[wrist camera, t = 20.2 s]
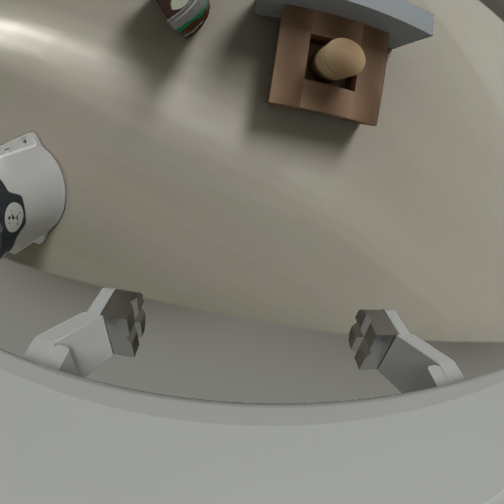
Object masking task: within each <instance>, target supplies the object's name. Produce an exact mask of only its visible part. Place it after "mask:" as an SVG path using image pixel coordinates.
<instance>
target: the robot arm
mask: <svg viewBox="0 0 504 504" xmlns="http://www.w3.org/2000/svg"><path fill="white" fill-rule="evenodd" d="M64 206H65V185H64V180H63V176H62V173H61V170H60V168H59V166H58V164H57V162H56V161H55V159H54V158H53V156H52V155H51V154H50V153H49V152H48V151H47V150H45V149H44V148H43V146H42V145H41V143H40V141H39V138H38V137H37V135H36V133H35V132H30V133H27V134H25V135H23V136H20V137H18V138H16V139H14V140H12V141H10V142H8V143H5V144H3V145H1V146H0V259H1V258H3V257H4V256H5V255H6V254H7V253H8V252H9V253H12V254H16V253H17V252H19V251H21V250H22V249H24V248H25V247H27V246H28V245H30V244H31V243H33V242H34V243H37V244H41V243H43V242H44V241H45V240H46V237H47V235H48V232H49V230H50V229H51V228H53V227H54V226H55V225H56V224H57V223H58V221H59V220H60V218H61V216H62V213H63V210H64ZM143 303H144V301H143V295H142V293H140V292H133V291H127V290H121V289H114V288H107V287H105V288H102V290H101V291H100V293H99V294H98V296H97V297H96V299H95V300H94V302H93V303H92V305H91V306H90V308H89V309H88V311H87V313H86V312H82V313H80V314H78V315H76V316H74V317H73V318H70V319H68V320H66V321H64V322H62V323H61V324H59V325H57V326H55V327H53V328H51V329H49V330H47V331H45V332H43V333H41V334H39V335H37V336H36V337H35V338H34V339H33V341H32V342H31V344H30V345H29V347H28V349H27V350H26V352H25V353H24V355H23V356H22V357H20V356H17V355H15V354H12V353H10V352H7V351H5V350H2V349H0V504H504V367H503V368H500V369H497V370H494V371H491V372H488V373H485V374H482V375H479V376H475V377H472V378H468V379H465V378H464V377H463V375H462V373H461V372H460V370H459V368H458V367H457V365H456V364H455V362H454V361H453V360H452V359H450V358H449V357H447V356H446V355H444V354H443V353H441V352H439V351H438V350H436V349H435V348H433V347H432V346H430V345H429V344H427V343H426V342H424V341H423V340H421V339H420V338H418V337H416V336H415V335H413V334H409V332H408V330H407V329H406V327H405V326H404V324H403V322H402V321H401V319H400V318H399V316H398V315H397V313H396V312H395V311H394V310H393V309H382V310H359V311H358V313H357V315H356V317H355V318H356V321H357V323H355V324H354V325H353V326H352V327H351V330H350V333H349V344H350V347H351V349H352V350H353V351H354V352H355V353H356V355H355V360H356V363H357V365H358V368H359V370H360V369H378V371H379V372H380V373H381V374H382V375H384V376H385V377H386V378H387V379H388V380H389V381H390V382H391V383H392V384H393V385H394V386H395V387H396V388H397V389H398V390H399V391H400V392H401V394H395V395H388V396H382V397H374V398H366V399H358V400H346V401H334V402H318V403H284V404H283V403H241V402H225V401H224V402H223V401H213V400H202V399H193V398H184V397H177V396H169V395H163V394H156V393H150V392H144V391H139V390H134V389H129V388H124V387H119V386H114V385H111V384H106V383H102V382H98V381H94V380H90V379H87V378H86V377H87V376H88V375H89V374H91V373H92V372H93V371H94V370H96V368H98V367H99V366H100V365H102V364H103V363H104V362H105V361H106V360H108V359H109V358H110V357H111V356H113V354H118V355H124V356H130V357H135V355H136V352H137V349H138V346H139V340H138V338H140V337H142V336H143V333H144V329H145V312H144V310H143V309H142V308H141V307H142V305H143Z"/></svg>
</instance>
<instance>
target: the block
mask: <svg viewBox="0 0 504 504" xmlns="http://www.w3.org/2000/svg"><path fill="white" fill-rule="evenodd" d="M337 38H347V39H350V40H352V41H354V42H356V43H357V44H358V45H359V46H360V47H361V48H362V50H363V52H364V54H365V59H366V61H365V66H364V68H363V70H362V71H361V72H360V73H359V74H357V75H354V76H351V77H347V78H344V79H340V80H337V81H334V82H330V83H323V82H319V81H317V80H316V79H314V78H313V77H312V76H311V74H310V72H309V69H308V62H309V60H310V58H311V57H312V56H313V55H314V54H315V53H317V52H318V51H319V50H320V49H322V48H323V47H324V46H325V45H327V44H328V43H329V42H331V41H332V40H334V39H337ZM388 42H389V33H388V32H385V31H383V30H380V29H377V28H375V27H372V26H369V25H366V24H363V23H360V22H357V21H354V20H351V19H347V18H344V17H341V16H337V15H334V14H330V13H326V12H322V11H318V10H313V9H309V8H304V7H299V6H294V5H289V4H284V7H283V10H282V13H281V17H280V22H279V28H278V35H277V41H276V47H275V53H274V60H273V66H272V72H271V79H270V85H269V92H268V98H267V104H270V105H277V106H283V107H288V108H294V109H299V110H304V111H309V112H314V113H319V114H323V115H328V116H332V117H336V118H340V119H344V120H348V121H352V122H356V123H359V124H365V125H371V126H376V125H377V120H378V114H379V109H380V103H381V96H382V90H383V83H384V76H385V68H386V60H387V51H388Z"/></svg>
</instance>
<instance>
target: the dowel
mask: <svg viewBox="0 0 504 504" xmlns="http://www.w3.org/2000/svg"><path fill="white" fill-rule="evenodd" d="M365 61H366V59H365V54H364V52H363V50H362V48H361V47H360V46H359V45H358V44H357V43H356V42H354V41H352V40H350V39H347V38H337V39H334V40H332V41H331V42H329V43H328V44H327V45H325V46H324V47H323V48H322V49H320V50H319V51H318V52H317V53H315V54H314V55H313V56H312V57H311V58H310V60H309V62H308V69H309V72H310V74H311V76H312V77H313V78H314V79H316V80H317V81H319V82H323V83H330V82H334V81H337V80H340V79H344V78H347V77H351V76H354V75H357V74H359V73H360V72H361V71H362V70H363V68H364V66H365Z"/></svg>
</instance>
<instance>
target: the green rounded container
mask: <svg viewBox="0 0 504 504" xmlns="http://www.w3.org/2000/svg"><path fill="white" fill-rule="evenodd" d="M157 1H158V3H159V5H160V6H161V8H162V10H163V11H164V13H165V15H166V16H167V18H168V20H167V22H168V23H169V24H170V26H171V27H172V28H173V29H174V30H177V31H178V32H180V33H181V34H182V35H183V36H184V37H185V38H187V37H189V36H191V35H192V34H194V33H195V32H196V31H197V30H198V29H199V28H200V27H201V26H202V25H203V24H204V22H205V20H206V19H207V17H208V14H209V9H210V4H209V0H157Z"/></svg>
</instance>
